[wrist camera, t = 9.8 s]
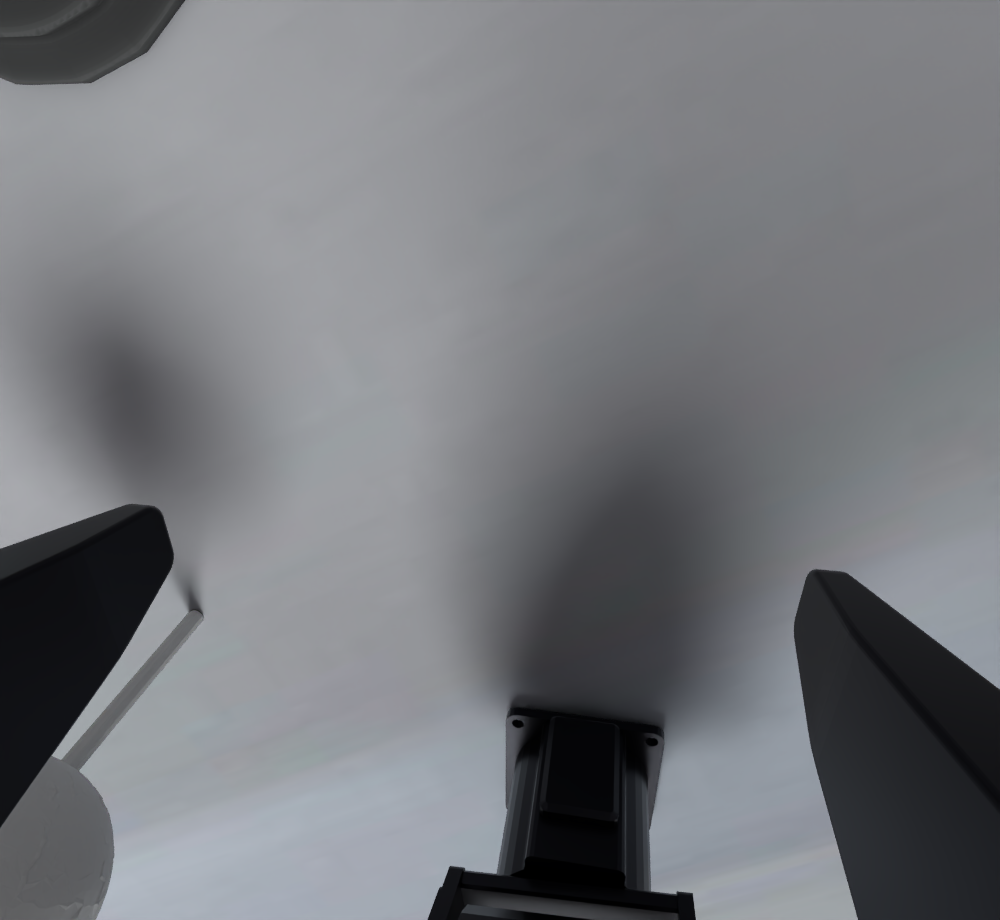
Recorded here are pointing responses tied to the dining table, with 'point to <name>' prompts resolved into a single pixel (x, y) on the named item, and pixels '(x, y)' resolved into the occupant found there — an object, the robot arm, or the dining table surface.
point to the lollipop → (71, 818)
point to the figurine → (76, 37)
